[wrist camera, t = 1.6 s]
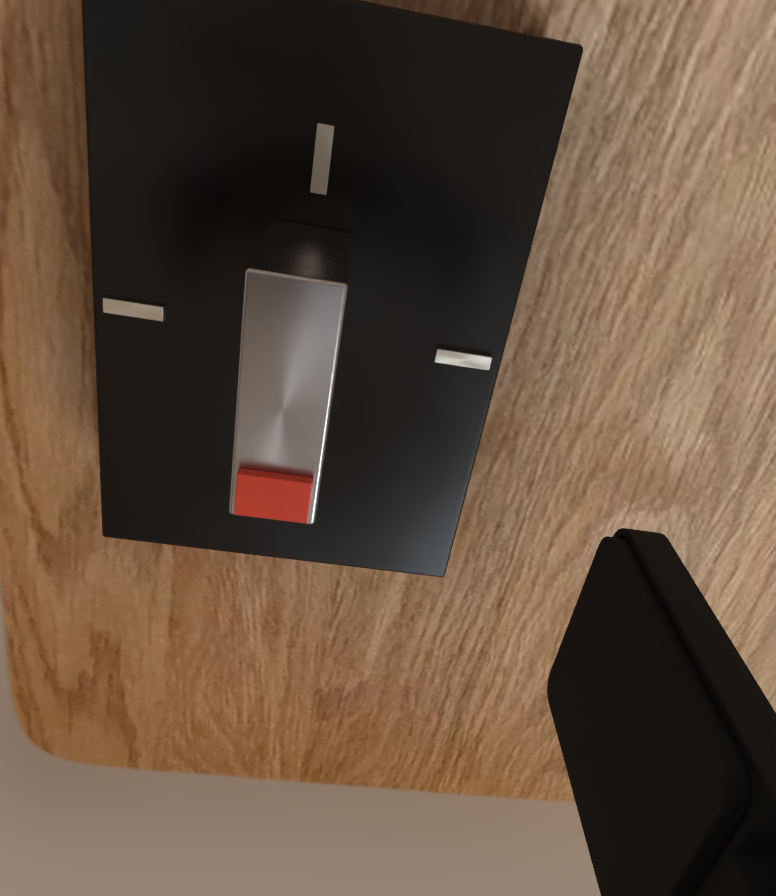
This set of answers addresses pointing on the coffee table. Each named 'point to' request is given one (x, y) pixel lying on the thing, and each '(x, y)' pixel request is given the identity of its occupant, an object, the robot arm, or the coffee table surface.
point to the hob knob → (288, 369)
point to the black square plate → (317, 204)
